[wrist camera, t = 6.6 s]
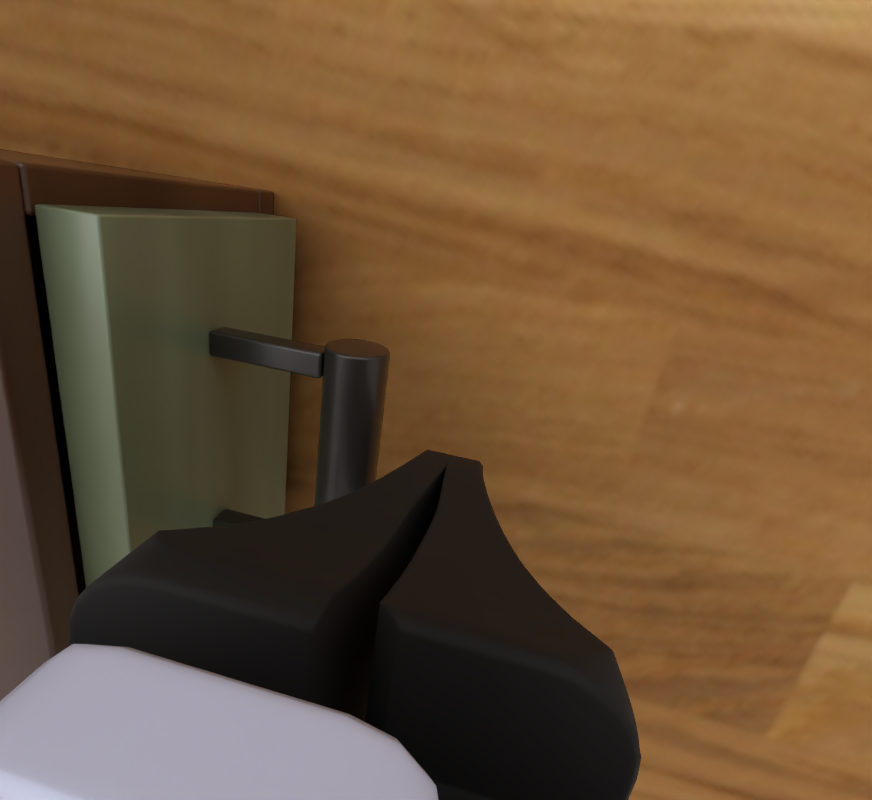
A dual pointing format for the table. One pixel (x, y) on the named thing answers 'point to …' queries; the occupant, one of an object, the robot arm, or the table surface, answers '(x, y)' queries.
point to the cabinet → (31, 401)
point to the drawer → (185, 373)
